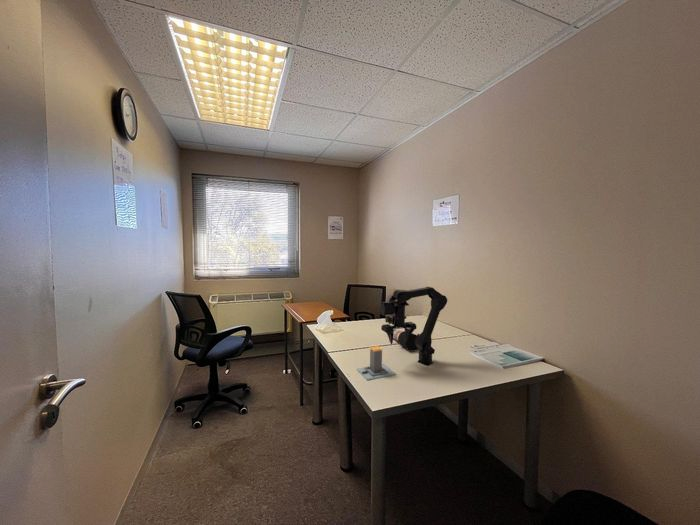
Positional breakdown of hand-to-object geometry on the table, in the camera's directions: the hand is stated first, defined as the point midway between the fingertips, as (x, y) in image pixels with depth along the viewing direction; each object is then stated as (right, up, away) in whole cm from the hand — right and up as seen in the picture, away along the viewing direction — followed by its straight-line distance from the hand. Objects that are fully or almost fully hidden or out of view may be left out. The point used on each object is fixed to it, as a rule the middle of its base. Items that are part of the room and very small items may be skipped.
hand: (398, 342), depth 146 cm
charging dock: (-13, -13, -6) cm, 19 cm away
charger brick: (-13, -13, -6) cm, 19 cm away
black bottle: (+8, -11, +37) cm, 40 cm away
